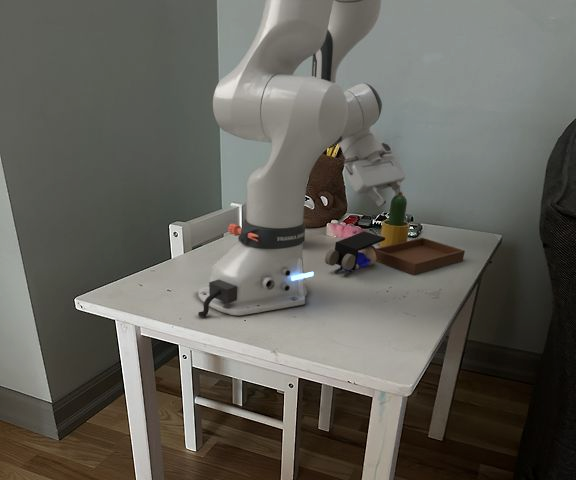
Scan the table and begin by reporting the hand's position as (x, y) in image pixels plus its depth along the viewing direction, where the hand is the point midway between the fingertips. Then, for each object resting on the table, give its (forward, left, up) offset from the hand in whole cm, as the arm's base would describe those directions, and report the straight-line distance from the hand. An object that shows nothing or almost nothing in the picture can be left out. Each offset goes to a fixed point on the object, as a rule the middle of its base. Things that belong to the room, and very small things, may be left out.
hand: (392, 201), depth 140 cm
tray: (-4, -13, -11) cm, 18 cm away
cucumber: (0, -2, -10) cm, 11 cm away
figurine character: (-23, -10, -11) cm, 27 cm away
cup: (0, -2, -11) cm, 11 cm away
